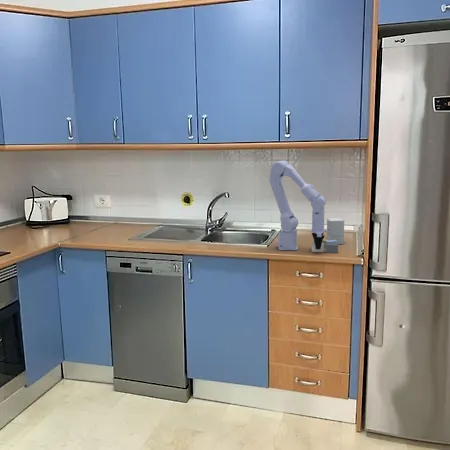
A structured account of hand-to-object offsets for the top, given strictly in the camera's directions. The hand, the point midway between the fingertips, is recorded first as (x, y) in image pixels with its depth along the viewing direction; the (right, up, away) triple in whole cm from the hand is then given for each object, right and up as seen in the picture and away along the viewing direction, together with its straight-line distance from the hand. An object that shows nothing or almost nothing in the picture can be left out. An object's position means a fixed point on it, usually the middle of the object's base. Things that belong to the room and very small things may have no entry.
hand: (317, 248), depth 229 cm
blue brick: (+8, 0, +5) cm, 9 cm away
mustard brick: (+2, 0, +8) cm, 8 cm away
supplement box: (+12, +2, +16) cm, 20 cm away
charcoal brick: (+6, -2, -2) cm, 7 cm away
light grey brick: (0, -1, 0) cm, 2 cm away
